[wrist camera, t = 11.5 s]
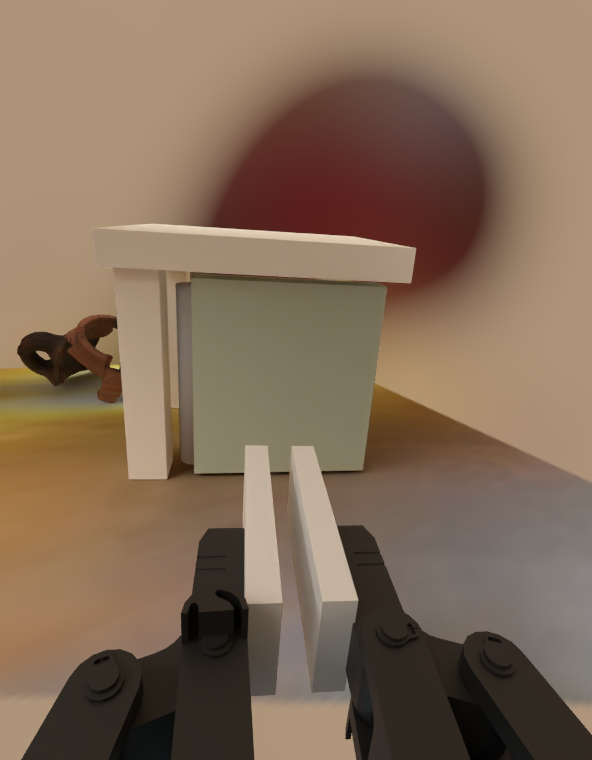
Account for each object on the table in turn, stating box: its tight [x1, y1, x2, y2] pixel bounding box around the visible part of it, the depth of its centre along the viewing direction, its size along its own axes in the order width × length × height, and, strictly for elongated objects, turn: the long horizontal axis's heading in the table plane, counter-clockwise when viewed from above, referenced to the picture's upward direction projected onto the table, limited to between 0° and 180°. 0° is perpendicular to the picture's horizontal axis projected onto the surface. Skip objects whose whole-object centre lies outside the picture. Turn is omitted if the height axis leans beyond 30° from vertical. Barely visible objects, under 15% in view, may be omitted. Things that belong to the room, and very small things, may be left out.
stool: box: [92, 224, 416, 479], centre depth 35 cm, size 18×16×16 cm
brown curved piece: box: [17, 315, 122, 403], centre depth 43 cm, size 12×10×8 cm
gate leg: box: [176, 274, 387, 474], centre depth 30 cm, size 13×2×13 cm, turn 98°
